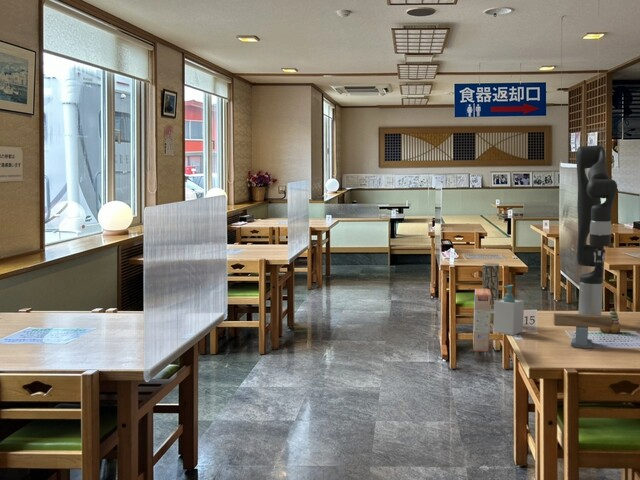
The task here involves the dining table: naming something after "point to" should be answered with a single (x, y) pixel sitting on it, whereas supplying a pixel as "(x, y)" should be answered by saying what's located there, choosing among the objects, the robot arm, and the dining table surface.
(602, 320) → the walnut bar
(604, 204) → the robot arm
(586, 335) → the fulcrum ridge
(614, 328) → the ornament
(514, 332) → the soap bottle
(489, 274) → the bark textured block
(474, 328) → the cracker box
